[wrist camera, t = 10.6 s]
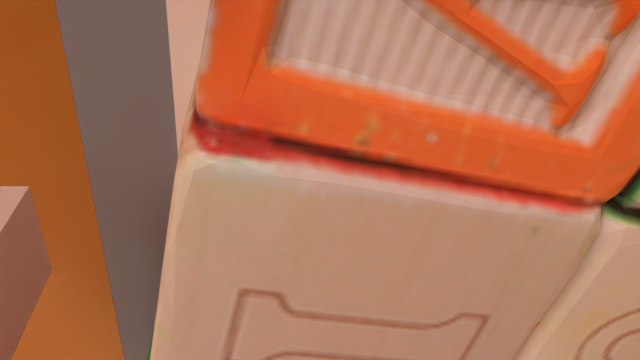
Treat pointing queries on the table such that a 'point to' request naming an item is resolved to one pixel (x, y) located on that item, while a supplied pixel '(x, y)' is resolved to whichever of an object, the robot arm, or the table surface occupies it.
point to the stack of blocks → (408, 184)
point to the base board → (132, 134)
